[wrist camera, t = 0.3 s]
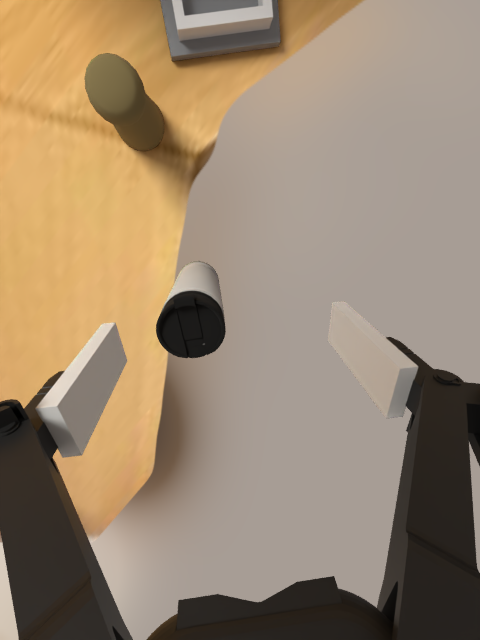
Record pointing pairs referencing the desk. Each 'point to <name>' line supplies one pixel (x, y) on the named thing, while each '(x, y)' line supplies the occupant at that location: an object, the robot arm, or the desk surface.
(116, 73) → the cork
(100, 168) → the desk surface
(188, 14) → the grey square tray
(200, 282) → the travel mug
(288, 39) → the desk surface
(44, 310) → the desk surface
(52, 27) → the desk surface
